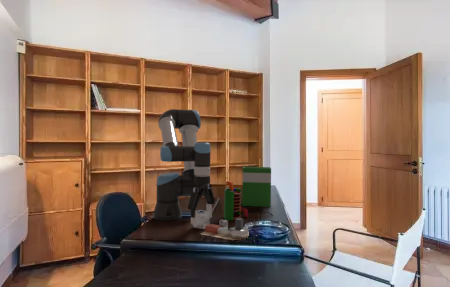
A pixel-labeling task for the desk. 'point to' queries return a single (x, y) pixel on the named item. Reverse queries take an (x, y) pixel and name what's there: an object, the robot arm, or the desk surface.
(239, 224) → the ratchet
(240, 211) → the glasses
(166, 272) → the desk surface
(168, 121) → the robot arm
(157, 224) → the desk surface
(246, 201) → the hardback book
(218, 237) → the tool board
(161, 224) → the desk surface
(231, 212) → the motor
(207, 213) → the socket
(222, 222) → the socket
